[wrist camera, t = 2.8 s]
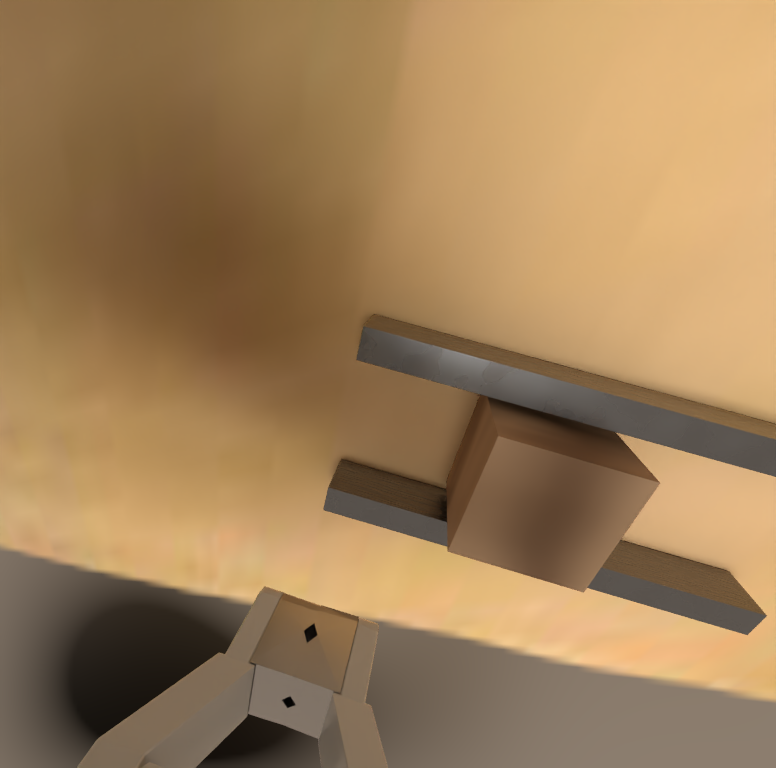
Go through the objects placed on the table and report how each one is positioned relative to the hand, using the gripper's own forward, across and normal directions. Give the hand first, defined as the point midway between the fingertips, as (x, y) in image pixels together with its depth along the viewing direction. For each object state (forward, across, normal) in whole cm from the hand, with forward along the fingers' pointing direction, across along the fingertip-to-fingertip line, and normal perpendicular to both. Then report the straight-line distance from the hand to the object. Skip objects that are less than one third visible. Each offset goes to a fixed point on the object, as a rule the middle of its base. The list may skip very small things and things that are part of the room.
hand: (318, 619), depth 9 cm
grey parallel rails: (+11, -9, 0) cm, 14 cm away
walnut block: (+11, -7, 0) cm, 13 cm away
